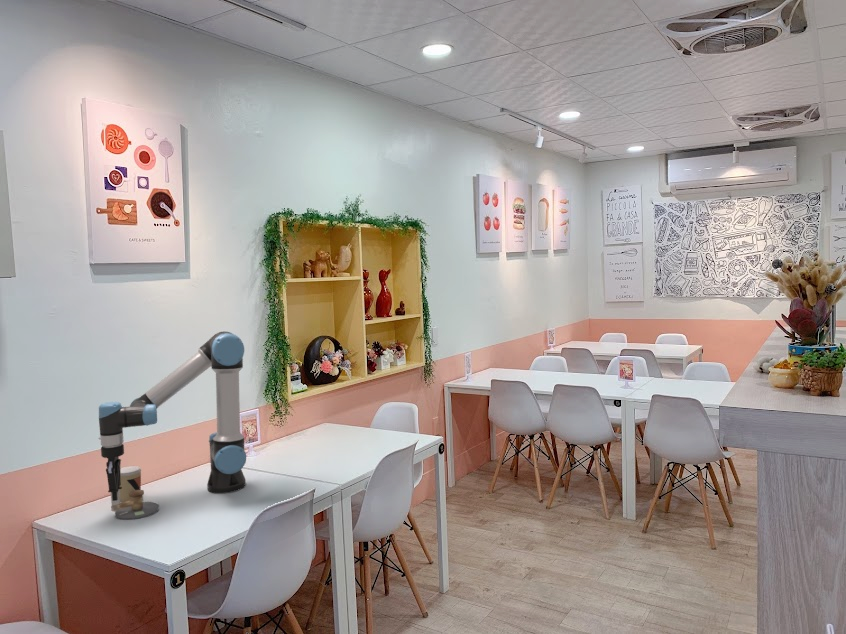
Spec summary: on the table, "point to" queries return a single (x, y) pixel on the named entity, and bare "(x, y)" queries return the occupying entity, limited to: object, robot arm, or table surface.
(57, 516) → the table surface
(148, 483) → the table surface
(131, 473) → the coffee cup
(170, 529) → the table surface
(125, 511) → the plate
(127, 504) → the peg dial
